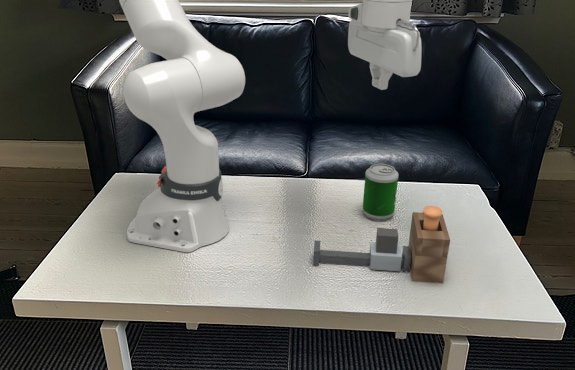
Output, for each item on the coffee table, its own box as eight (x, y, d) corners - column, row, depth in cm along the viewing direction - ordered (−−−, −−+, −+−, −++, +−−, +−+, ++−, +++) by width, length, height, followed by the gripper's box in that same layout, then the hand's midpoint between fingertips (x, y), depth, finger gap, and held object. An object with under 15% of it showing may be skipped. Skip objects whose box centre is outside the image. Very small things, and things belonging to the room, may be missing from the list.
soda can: (393, 224, 131) (398, 177, 125) (360, 220, 132) (364, 174, 126) (394, 208, 137) (399, 163, 132) (363, 205, 138) (367, 160, 133)
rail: (313, 265, 115) (313, 250, 114) (314, 254, 119) (314, 240, 117) (409, 272, 114) (411, 257, 112) (407, 260, 117) (409, 246, 116)
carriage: (370, 269, 114) (373, 237, 110) (369, 255, 118) (372, 224, 115) (400, 271, 113) (404, 239, 110) (398, 257, 118) (401, 226, 114)
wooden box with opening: (412, 281, 111) (417, 237, 106) (407, 253, 120) (412, 212, 115) (443, 283, 110) (450, 239, 106) (436, 254, 119) (442, 213, 115)
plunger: (420, 242, 110) (424, 214, 108) (418, 232, 114) (422, 205, 111) (439, 243, 110) (443, 215, 107) (436, 233, 113) (440, 206, 111)
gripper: (434, 24, 97) (425, 101, 103) (371, 5, 114) (366, 73, 120) (404, 26, 95) (396, 105, 101) (344, 7, 111) (340, 76, 117)
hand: (379, 87), depth 110 cm, fingers closed
